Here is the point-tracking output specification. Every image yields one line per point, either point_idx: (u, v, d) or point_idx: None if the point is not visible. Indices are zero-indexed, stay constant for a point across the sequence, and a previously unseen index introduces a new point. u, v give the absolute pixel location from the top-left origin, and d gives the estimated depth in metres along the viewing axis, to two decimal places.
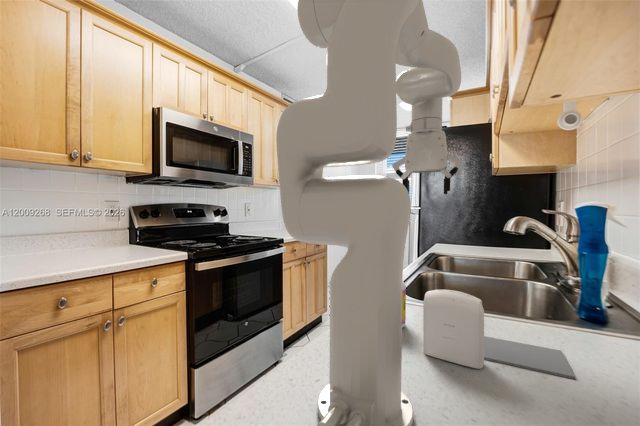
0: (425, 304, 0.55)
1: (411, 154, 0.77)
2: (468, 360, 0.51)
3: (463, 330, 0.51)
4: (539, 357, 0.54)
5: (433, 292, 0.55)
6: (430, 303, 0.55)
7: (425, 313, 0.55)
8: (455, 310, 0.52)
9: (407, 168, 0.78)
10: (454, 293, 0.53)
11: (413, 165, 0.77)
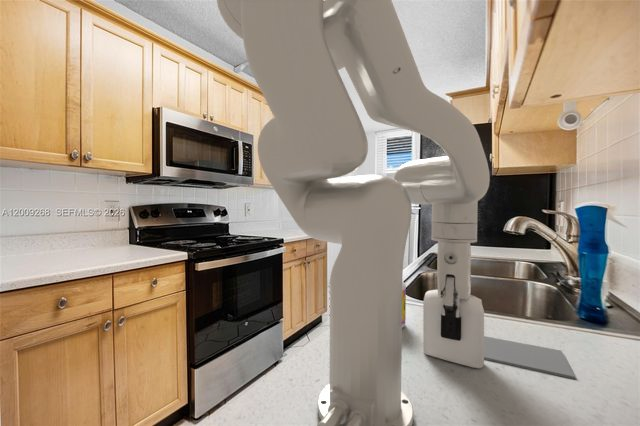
0: (425, 304, 0.55)
1: (468, 275, 0.50)
2: (468, 359, 0.51)
3: (463, 330, 0.51)
4: (539, 357, 0.54)
5: (433, 292, 0.55)
6: (431, 303, 0.55)
7: (425, 313, 0.55)
8: None
9: (468, 298, 0.49)
10: None
11: (469, 292, 0.50)
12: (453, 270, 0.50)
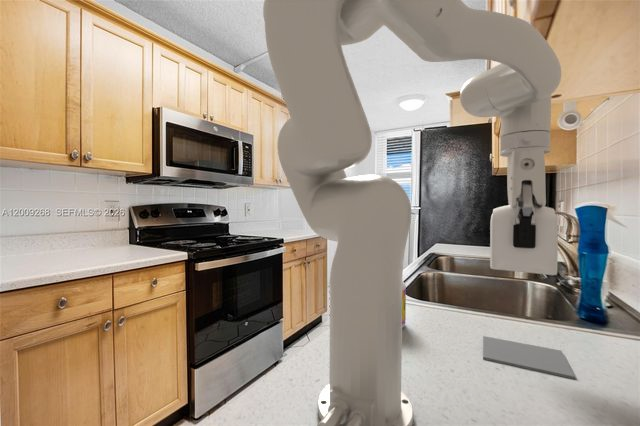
0: (494, 218, 0.56)
1: None
2: (542, 267, 0.52)
3: (537, 237, 0.52)
4: (539, 357, 0.54)
5: (502, 207, 0.56)
6: (500, 217, 0.55)
7: (494, 227, 0.56)
8: None
9: (545, 203, 0.50)
10: None
11: None
12: (530, 175, 0.50)
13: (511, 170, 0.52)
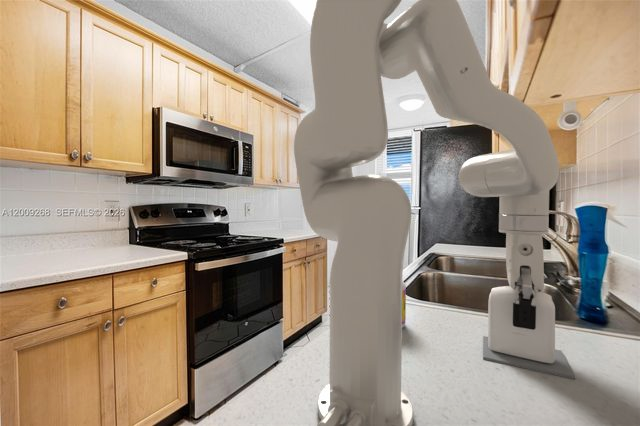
0: (492, 301, 0.56)
1: None
2: (540, 355, 0.52)
3: None
4: None
5: (500, 289, 0.56)
6: (499, 300, 0.55)
7: (492, 309, 0.56)
8: None
9: (543, 289, 0.50)
10: None
11: None
12: (528, 261, 0.50)
13: (510, 252, 0.53)
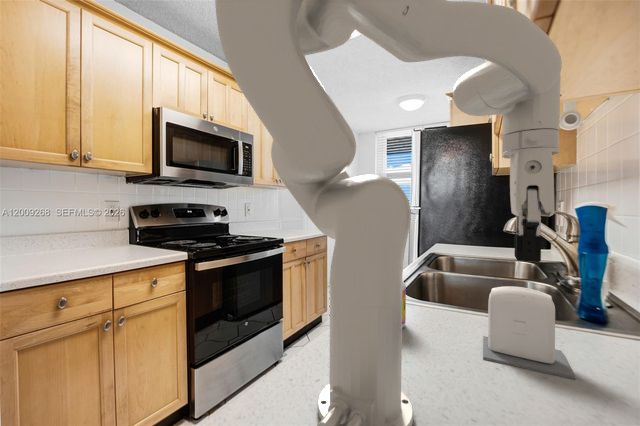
0: (492, 301, 0.56)
1: None
2: (540, 355, 0.52)
3: (535, 326, 0.52)
4: None
5: (500, 289, 0.56)
6: (499, 300, 0.55)
7: (492, 310, 0.56)
8: (526, 307, 0.53)
9: (553, 211, 0.44)
10: (523, 290, 0.54)
11: None
12: (536, 180, 0.44)
13: (515, 174, 0.46)
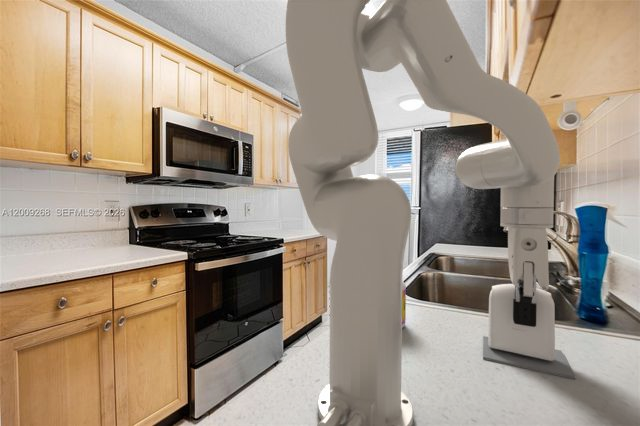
0: (493, 297, 0.57)
1: None
2: (540, 351, 0.52)
3: None
4: None
5: (501, 285, 0.57)
6: (499, 296, 0.56)
7: (493, 306, 0.57)
8: None
9: (548, 286, 0.47)
10: None
11: None
12: (532, 257, 0.47)
13: (512, 247, 0.49)
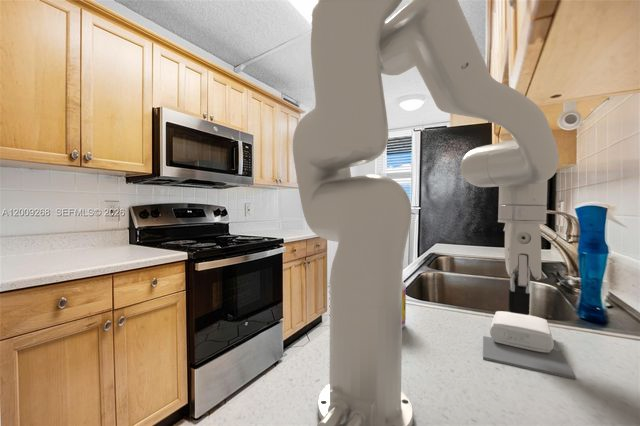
0: (497, 311, 0.67)
1: None
2: (539, 328, 0.57)
3: (533, 320, 0.61)
4: (539, 357, 0.54)
5: None
6: (503, 311, 0.67)
7: (497, 313, 0.66)
8: (525, 315, 0.64)
9: (540, 276, 0.51)
10: None
11: None
12: (526, 249, 0.52)
13: (508, 241, 0.54)
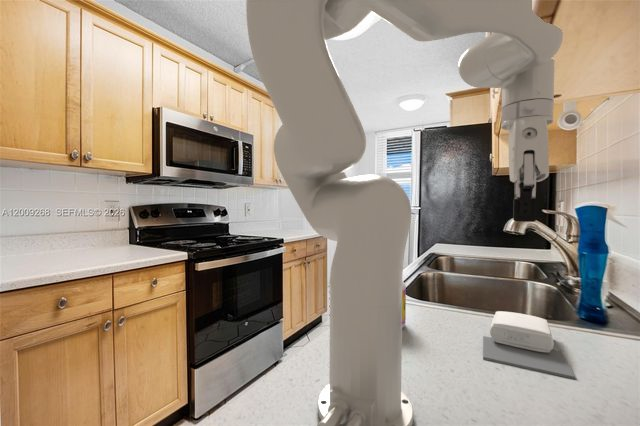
0: (497, 311, 0.67)
1: None
2: (539, 328, 0.57)
3: (533, 320, 0.61)
4: (539, 357, 0.54)
5: None
6: (503, 311, 0.67)
7: (497, 313, 0.66)
8: (525, 315, 0.64)
9: (548, 173, 0.48)
10: None
11: None
12: (532, 145, 0.48)
13: (513, 141, 0.50)
